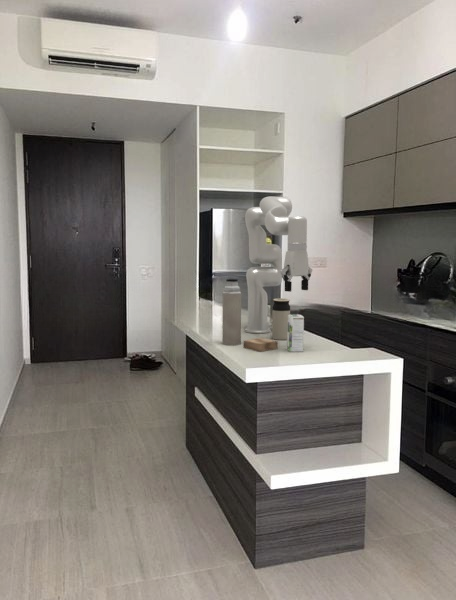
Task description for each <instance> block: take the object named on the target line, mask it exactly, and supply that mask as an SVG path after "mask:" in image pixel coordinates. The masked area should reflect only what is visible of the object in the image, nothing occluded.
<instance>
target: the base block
mask: <svg viewBox="0 0 456 600" xmlns="http://www.w3.org/2000/svg"><path fill="white" fill-rule="evenodd" d="M278 341H279V340H274V339H273V340H272V339H269V338H263V337H258V338H252V339H245V340H243V346H242V347H243V348H244V349H247V350H251V351H254V352H255V351H256V352H259V353H261V352H266V351H273V350H278V344H279V342H278Z"/></svg>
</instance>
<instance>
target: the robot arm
mask: <svg viewBox="0 0 456 600" xmlns="http://www.w3.org/2000/svg"><path fill="white" fill-rule="evenodd" d="M292 209H293V203H292V200H291V199H290V198H289V197H286V196H274V195H273V196H271V195H270V196H266V197H263V198H262V199H261V200H260V201H259V206H253V207H250V208H248V209H246V211H245V216H244V217H245V218H244V220H245V222H244V223H245V226H246V229H247V234H248V253H249V254H248V256H249V257H248V259H249V261H250V263H252V264H256V265H257V264H260V265H261V264H262V265H270V266H251V267H250V268H248V269H247V271H246V273H245V278H246V285H247V327H246V328H244V332H245V333H249V334H268V333H271V329H270V327H272V322H269V321H268V303H269V302H268V299H269V298H268V293H267V291H266V290H265V287H277V286H280V285H281V284H282V281H283V282H284V292H289V293H290V292H292V279H293V277H300V278H301V282H300V283H301V284H300V285H301V287H300V289H301V291H308V290H309V280H310V278H311V276H312V273H313V269H312V268H311V267H310V266H309V257H308V251H307V248H308V245H307V244H308V243H307V242H308V239H307V238H308V236H307V235H308V219H307V217H306V216H297V215H296V216H294V215H293V216H290V215H291V213H292ZM262 226H265V229H266V230H267V231H268V233H269V234H271V235H273V236H287V251H285V254H284V261H283V253H282V249H281V246H280V245H278V244H276V243H275V244H274V243H267V241H268V240H267V233H266V231H265V230H264V228H263V227H262Z"/></svg>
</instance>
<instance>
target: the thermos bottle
mask: <svg viewBox="0 0 456 600" xmlns="http://www.w3.org/2000/svg"><path fill="white" fill-rule="evenodd" d="M225 281H226V284H225V286H224V289H223V292H222V344H223V345H225V346H239V345H241V344H242V292H241V287H240V286H239V283H238V279H236V278H227V279H225Z"/></svg>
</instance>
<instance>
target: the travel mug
mask: <svg viewBox="0 0 456 600" xmlns="http://www.w3.org/2000/svg"><path fill="white" fill-rule="evenodd" d="M272 300H273V305H272V309H271V310H272V315H271V317H272V318H271V319H272V320H271V321H272V326H271V327H272V329H271V333H272V334H271V337H272V339H273V340H275V341H287V330H288V315H291V305H290V304H289V303H290V301H291V299H289V298H273V299H272Z"/></svg>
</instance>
